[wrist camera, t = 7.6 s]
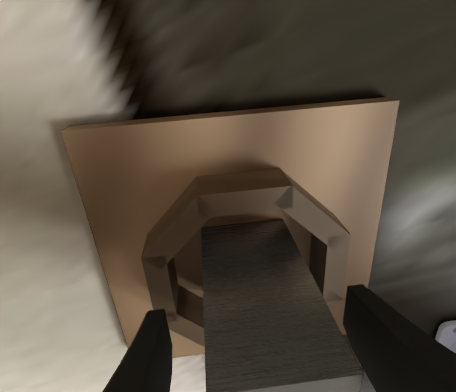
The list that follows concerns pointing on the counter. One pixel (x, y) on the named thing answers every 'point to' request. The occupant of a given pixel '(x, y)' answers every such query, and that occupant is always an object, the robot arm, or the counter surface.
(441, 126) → the counter surface
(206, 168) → the holder board
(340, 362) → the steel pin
